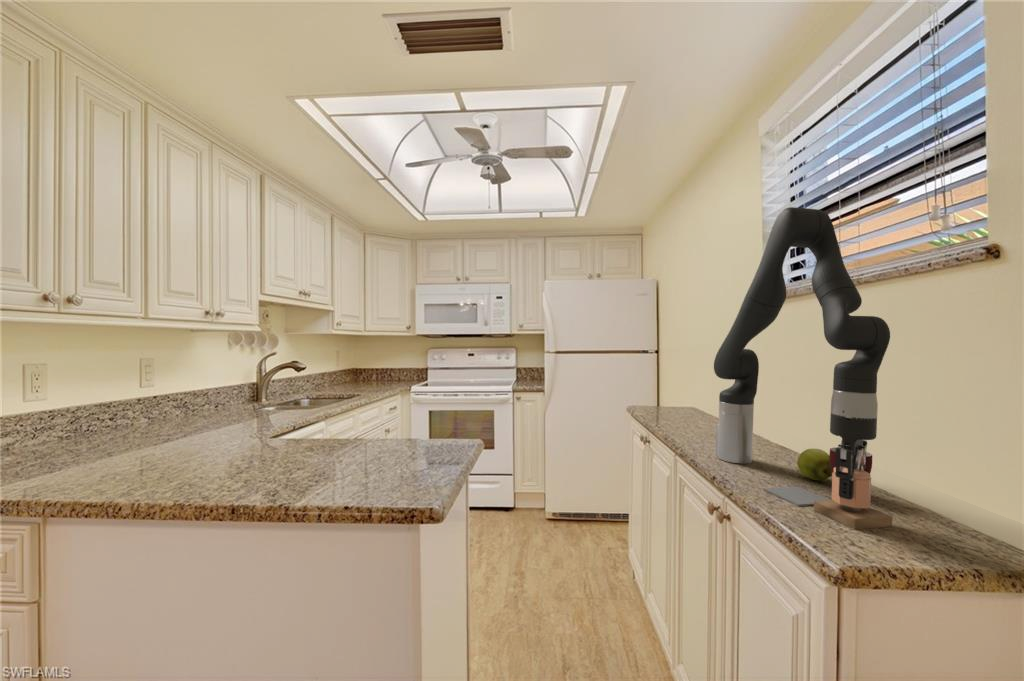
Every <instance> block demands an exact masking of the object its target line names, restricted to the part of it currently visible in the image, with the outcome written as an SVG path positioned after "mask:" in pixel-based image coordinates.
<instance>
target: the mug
mask: <svg viewBox="0 0 1024 681" xmlns="http://www.w3.org/2000/svg"><path fill="white" fill-rule="evenodd" d="M836 448H838V446H837V447H831V448H829V459H830V466H831V472H832V473H833V470H834V468H835V467H836V451H835V450H836ZM865 465H866V468H865V469H863V470H864V471H866V472H868V473H870V474H871V472H872V469H873V468H872V467H873V454H872V453H871V452H867V451H866V464H865Z"/></svg>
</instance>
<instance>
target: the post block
mask: <svg viewBox="0 0 1024 681" xmlns="http://www.w3.org/2000/svg"><path fill="white" fill-rule="evenodd" d="M813 512H816V513H818V514H820V515H822V516H825V517H827V518H829V519H831V520H834V521H835V522H837V523H840V524H842V525H844V526H846V527H849V528H850V529H853V530H862V529H865V530H866V529H876V528H889V527H893V516H892V515H889V514H888V513H885V512H883V511H881V510H877V509H875V508H872V507H870V506H869V508H853V507H849V506H845V505H841V504H839V503H837V502H835V501H833V500H832V499H830V500H827V501H814V505H813Z"/></svg>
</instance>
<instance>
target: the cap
mask: <svg viewBox="0 0 1024 681" xmlns="http://www.w3.org/2000/svg"><path fill="white" fill-rule="evenodd" d="M843 472H845V473H848V469H846V468H844V469H843ZM835 473H836V467H835V468H834V470H833V473H832V476H831V500H833V501H835V502H837V503H839V504H841V505H845V506H849V507H853V508H869V507H870V506H871V500H872V499H871V496H872V477H871V473H868V472H866V471H863V470H858V471H855V480H854V489H853V498H852V499H851V500H849V499H845V498H841V497H840V496H839V479H840V478H838V477H836V475H835Z"/></svg>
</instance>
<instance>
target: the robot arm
mask: <svg viewBox="0 0 1024 681" xmlns="http://www.w3.org/2000/svg"><path fill="white" fill-rule="evenodd" d="M837 238H838V237H837V234H836V231H835V227H834V224H833V221H832V219H831V217H830V215H829V214H828V213H827V212H826V211H824V210H821V209H817V208H804V207H793V206H791V207H786V208H784V209H783V210H782V211H780V213H779V214H778V215H777V216H776V219H775V220H774V223H773V225H772V227H771V230H770V233H769V236H768V239H767V242H766V245H765V248H764V251H763V253H762V256H761V259H760V262H759V265H758V267H757V269H756V272H755V273H754V274H755V275H754V277H753V279H752V282H751V283H750V285H749V288H748V290H747V292H746V294H745V297H744V299H743V300H742V303H741V305H740V308H739V311H738V313H737V315H736V318H735V319H734V322H733V324H732V325H731V328H730V330H729V331H728V334H727V335H726V337H725V339H724V340H723V342H722V344H721V346H720V347H719V349H718V351H717V353H716V354H715V357H714V361H713V371H714V374H715V375H716V377H717V378H720V379H723V380H730V381H731V380H734V382H733V384H732V385H731V386H729V387H728V388H726V389H724V390H721V391H720V392H719V396H718V397H719V398H718V399H719V401H718V403H719V404H718V424H716V427H715V428H716V430H715V433H716V434H715V456H716V457H717V458H718V459H719V460H721V461H725V462H727V463H728V462H729V463H733V464H741V465H742V464H743V465H744V464H751V463H752V462H753V440H754V439H753V438H754V437H753V436H754V407H755V406H754V405H755V404H754V403H755V397H756V395H757V391H758V381H759V371H760V370H759V369H760V365H759V362H760V361H759V358H758V355H757V353H756V352H755V351H754V350H752V349H749V348H746V346H747V345H748V344H749V343H750V342H751V340H753V339H754V338H755V337H756V336H758V335H760V334H761V333H762V332H763V331H764V330H766V329H767V328H768V327H769V326H770V325H771V324H773V322H774V321H775V320H776V319H777V317H778V316H779V314H780V312H781V310H782V307H783V306H784V304H785V301H786V299H787V287H786V281H785V276H784V272H783V270H784V269H783V267H784V262H785V259H786V257H787V254H788V253H789V252H788V251H789V250H790V248H791V247H793V248H803V249H806V248H807V249H809V250H810V251H811V253H812V254H813V256H814V257H815V266H814V269H813V272H812V275H811V276H812V277H811V286H812V289H813V293H814V294H815V296H816V298H817V299H816V300H817V301H818V303H819V306H820V307H821V311H822V319H823V320H822V321H823V323H822V324H823V335H824V338H825V340H826V341H827V344H829V345H830V346H831V347H833V348H834V349H837V350H841V351H842V350H843V351H855V353H854V355H853V356H852V358H851V359H850V360H845V361H841V362H838V363H836V364H835V366H834V368H833V382H832V383H833V385H832V395H831V399H830V418H829V419H830V422H829V424H830V425H829V432H830V434H832V435H834V436H836V437H840V438H841V443H840V444H838V445H837V447H838V448H836V447H835V448H836V450H835V451H836V473H835V475H836V477H838V478H840V479H839V496H840V497H841V498H845V499H849V500H851V499H852V498H853V489H854V480H855V471H858V470H863V469H865V468H866V465H865V464H866V452H867V447H868V441H873V440H875V439H877V433H878V432H877V430H878V429H877V426H878V404H879V403H878V398H877V397H878V396H877V394H878V393H877V392H878V391H877V390H878V388H877V387H878V373H879V370H880V368H881V365H882V362H883V360H884V357H885V355H886V352H887V349H888V347H889V343H890V341H891V340H890V339H891V330H890V326H889V325H888V323H887V322H886V320H884V319H883V318H881V317H880V316H874V315H850V314H852V313H855V311H857V310H858V309H860V307H861V306H862V303H863V302H862V296H861V294H860V293H859V290H858V289H857V287H856V285H855V282H854V281H853V279H852V278H851V276H850V274H849V273H848V270H847V268H846V266H845V264H844V259H843V256H842V253H841V249H840V244H839V242H838V239H837ZM844 468H846V469H848V473H845V472H843V469H844ZM863 471H864V470H863Z"/></svg>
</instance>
